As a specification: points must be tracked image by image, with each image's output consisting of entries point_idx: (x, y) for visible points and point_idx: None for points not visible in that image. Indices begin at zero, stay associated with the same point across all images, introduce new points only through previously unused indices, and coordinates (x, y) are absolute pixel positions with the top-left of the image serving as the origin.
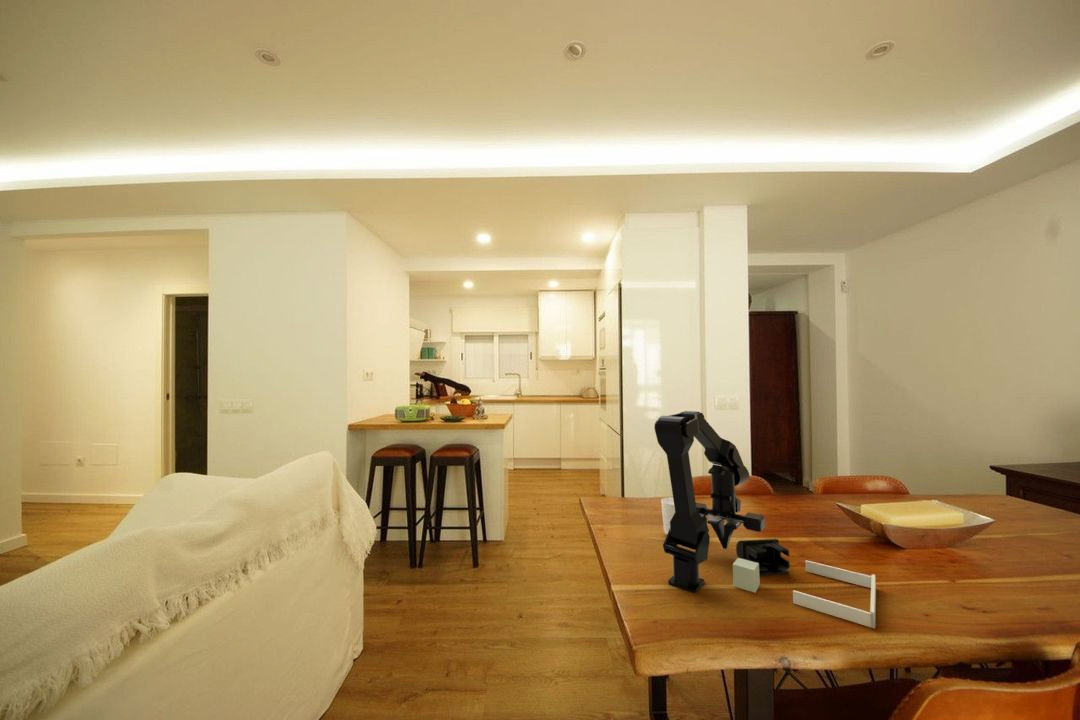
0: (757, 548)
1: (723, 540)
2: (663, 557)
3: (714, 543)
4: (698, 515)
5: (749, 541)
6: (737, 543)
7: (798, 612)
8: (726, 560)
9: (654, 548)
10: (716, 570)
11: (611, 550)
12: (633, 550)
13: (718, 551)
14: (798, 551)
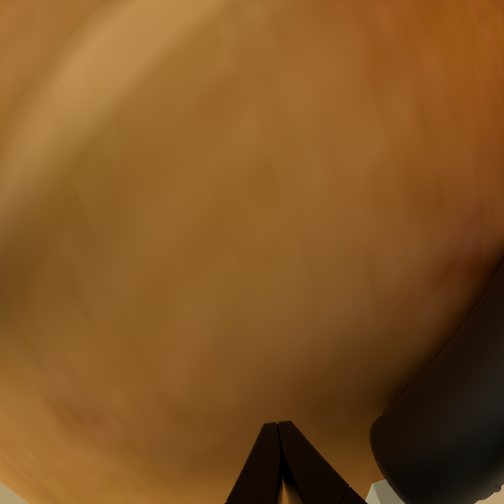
0: (497, 491)
1: (281, 502)
2: (87, 490)
3: (92, 179)
4: None
5: (486, 491)
6: (402, 500)
7: None
8: (287, 406)
9: (17, 443)
10: (284, 493)
11: (8, 483)
12: (17, 472)
13: (184, 316)
14: (500, 4)
